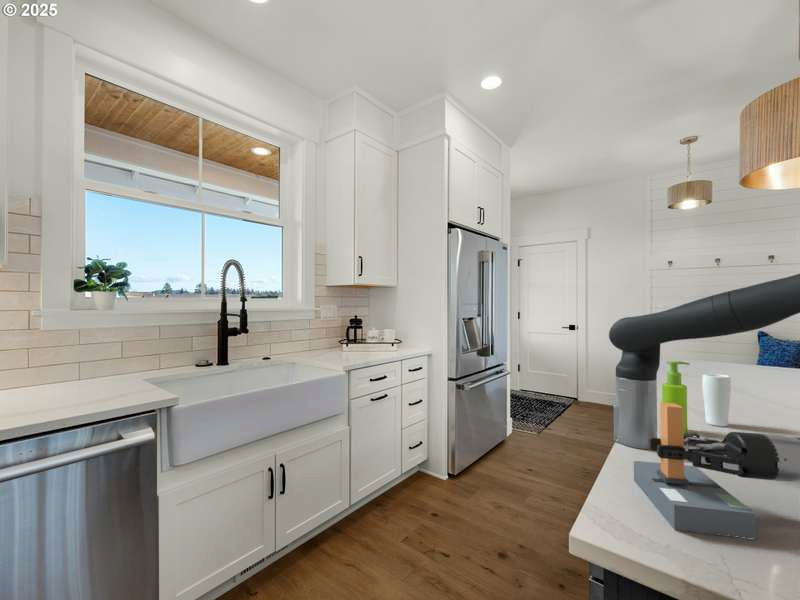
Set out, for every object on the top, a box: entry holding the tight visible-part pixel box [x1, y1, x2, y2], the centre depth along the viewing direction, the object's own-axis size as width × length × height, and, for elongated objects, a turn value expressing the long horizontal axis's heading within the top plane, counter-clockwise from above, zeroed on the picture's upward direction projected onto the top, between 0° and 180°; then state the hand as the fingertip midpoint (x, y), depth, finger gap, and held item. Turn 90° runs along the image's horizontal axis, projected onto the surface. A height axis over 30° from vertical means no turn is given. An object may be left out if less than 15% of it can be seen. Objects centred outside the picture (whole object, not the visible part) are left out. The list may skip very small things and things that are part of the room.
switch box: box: [633, 460, 757, 540], centre depth 69 cm, size 11×18×4 cm, turn 166°
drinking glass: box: [701, 373, 732, 428], centre depth 116 cm, size 7×7×15 cm
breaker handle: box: [657, 402, 689, 485], centre depth 69 cm, size 4×4×14 cm
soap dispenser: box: [661, 360, 690, 434], centre depth 110 cm, size 6×7×20 cm
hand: (654, 447), depth 70 cm, fingers closed on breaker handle, 3 cm apart
